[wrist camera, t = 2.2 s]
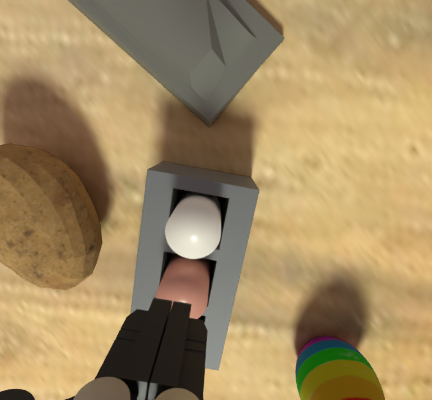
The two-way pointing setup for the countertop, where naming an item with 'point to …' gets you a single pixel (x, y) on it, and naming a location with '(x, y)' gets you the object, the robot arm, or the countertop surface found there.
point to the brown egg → (186, 283)
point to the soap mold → (189, 45)
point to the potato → (45, 219)
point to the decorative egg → (335, 372)
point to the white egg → (194, 225)
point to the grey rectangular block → (222, 257)
